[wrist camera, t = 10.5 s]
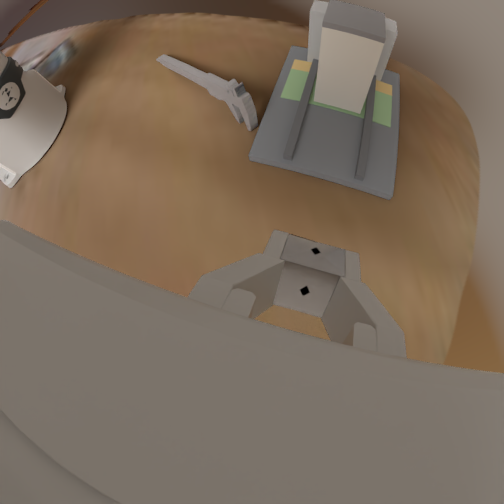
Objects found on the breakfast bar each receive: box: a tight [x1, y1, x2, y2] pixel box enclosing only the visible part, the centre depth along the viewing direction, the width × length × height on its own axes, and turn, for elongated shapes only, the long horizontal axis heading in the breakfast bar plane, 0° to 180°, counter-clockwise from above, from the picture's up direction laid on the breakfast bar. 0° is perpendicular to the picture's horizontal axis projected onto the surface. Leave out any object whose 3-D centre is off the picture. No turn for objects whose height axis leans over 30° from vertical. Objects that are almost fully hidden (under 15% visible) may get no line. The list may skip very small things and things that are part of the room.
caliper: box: [157, 54, 258, 131], centre depth 26 cm, size 20×1×6 cm, turn 41°
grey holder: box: [249, 0, 400, 200], centre depth 22 cm, size 14×18×9 cm
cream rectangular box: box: [314, 0, 386, 114], centre depth 21 cm, size 5×5×11 cm
